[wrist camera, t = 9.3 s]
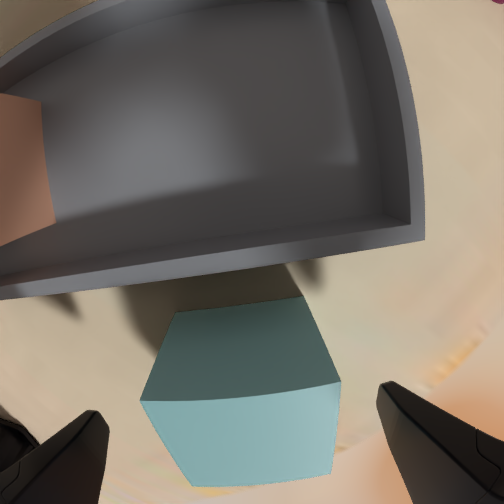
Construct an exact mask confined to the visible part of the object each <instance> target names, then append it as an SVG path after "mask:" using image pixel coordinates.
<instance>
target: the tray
mask: <svg viewBox="0 0 504 504" xmlns="http://www.w3.org/2000/svg"><path fill="white" fill-rule="evenodd" d="M0 93H3V94H8V95H13V96H18V97H22V98H27V99H32V100H36V101H40V102H41V111H42V130H43V142H44V152H45V161H46V169H47V176H48V182H49V188H50V194H51V199H52V205H53V210H54V214H55V219H56V223H55V224H53V225H50V226H47V227H45V228H42V229H40V230H37V231H35V232H32V233H30V234H28V235H25V236H23V237H21V238H18V239H16V240H14V241H11V242H9V243H7V244H5V245H2V246H0V300H6V299H15V298H25V297H34V296H42V295H51V294H60V293H68V292H77V291H85V290H93V289H101V288H109V287H117V286H125V285H132V284H140V283H148V282H155V281H163V280H170V279H177V278H185V277H192V276H199V275H206V274H213V273H220V272H227V271H234V270H241V269H248V268H255V267H261V266H268V265H275V264H281V263H288V262H294V261H301V260H307V259H314V258H320V257H326V256H333V255H339V254H345V253H351V252H357V251H364V250H370V249H376V248H382V247H388V246H394V245H399V244H405V243H411V242H417V241H423V240H425V197H424V178H423V165H422V154H421V145H420V137H419V129H418V123H417V116H416V110H415V105H414V99H413V94H412V89H411V85H410V80H409V76H408V71H407V67H406V63H405V60H404V56H403V52H402V49H401V45H400V42H399V38H398V35H397V32H396V29H395V26H394V23H393V20H392V17H391V14H390V12H389V9H388V6H387V4H386V1H385V0H98V1H96V2H93V3H91V4H89V5H87V6H84V7H82V8H80V9H78V10H76V11H74V12H72V13H70V14H68V15H66V16H64V17H62V18H61V19H59V20H57V21H55V22H53V23H52V24H50V25H48V26H46V27H45V28H43V29H41V30H40V31H38V32H36V33H35V34H33V35H32V36H30V37H29V38H27V39H26V40H24V41H23V42H21V43H20V44H18V45H17V46H15V47H14V48H13V49H11V50H10V51H8V52H7V53H6V54H4V55H3V56H2V57H0Z"/></svg>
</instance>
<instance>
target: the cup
mask: <svg viewBox="0 0 504 504" xmlns="http://www.w3.org/2000/svg"><path fill="white" fill-rule="evenodd" d="M492 1H494V2H496V3H499V4H503V3H504V0H492Z"/></svg>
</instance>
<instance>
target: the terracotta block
mask: <svg viewBox="0 0 504 504" xmlns="http://www.w3.org/2000/svg"><path fill="white" fill-rule="evenodd" d="M55 223H56V219H55V214H54V210H53V205H52V199H51V194H50V188H49V182H48V176H47V169H46V161H45V152H44V142H43V130H42V111H41V102H40V101H36V100H32V99H27V98H22V97H18V96H13V95H8V94H3V93H0V246H2V245H5V244H7V243H9V242H11V241H14V240H16V239H18V238H21V237H23V236H25V235H28V234H30V233H32V232H35V231H37V230H40V229H42V228H45V227H47V226H50V225H53V224H55Z"/></svg>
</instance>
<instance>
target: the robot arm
mask: <svg viewBox="0 0 504 504" xmlns="http://www.w3.org/2000/svg"><path fill="white" fill-rule="evenodd" d="M376 406H377V410H378V413H379V416H380V419H381V423H382V426H383V429H384V432H385V435H386V439H387V442H388V445H389V448H390V450H391V453H392V455H393V457H394V460H395V462H396V464H397V466H398V469H399V471H400V473H401V476H402V478H403V480H404V483H405V485H406V487H407V490H408V492H409V495H410V497H411V499H412V502H413V504H504V441H501V440H499V439H496V438H494V437H492V436H490V435H488V434H486V433H484V432H482V431H481V430H479V429H476V428H475V427H473V426H471V425H469V424H467V423H466V422H464V421H462V420H460V419H458V418H457V417H455V416H453V415H451V414H449V413H447V412H446V411H444V410H442V409H440V408H439V407H437V406H435V405H433V404H432V403H430V402H428V401H426V400H425V399H423V398H421V397H420V396H418V395H416V394H414V393H413V392H411V391H409V390H408V389H406V388H404V387H402V386H401V385H399V384H397V383H396V382H394V381H388V382H385V383H382V384H380V386H379V389H378V395H377V400H376ZM109 433H110V430H109V426H108V424H107V423H106V421H105V420H104V418H103V417H102V415H101V414H100V412H98V411H96V410H86V411H85V412H84V413H82V414H81V415H80V416H78V417H77V418H76V419H74V420H73V421H72V422H71V423H69V424H68V425H67V426H65V427H64V428H63V429H61V430H60V431H59V432H57V433H56V434H55V435H53V436H52V437H50V438H49V439H48V440H46V441H45V442H44V443H42V444H41V445H40V446H38V445H37V443H36V442H35V441H34V440H33V439H32V438H31V436H30V435H29V434H28V433H27V431H26V430H25V429H23V428H22V427H21V426H18V425H15V424H13V423H10V422H7V421H4V420H2V419H0V504H98V501H99V495H100V490H101V485H102V481H103V476H104V471H105V465H106V457H107V449H108V441H109Z"/></svg>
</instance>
